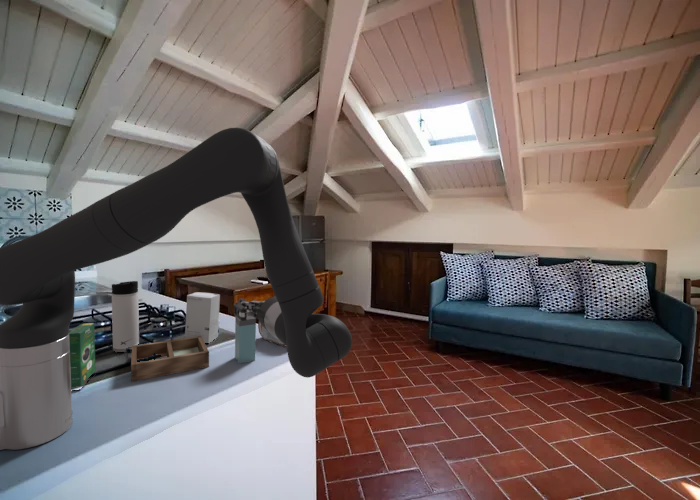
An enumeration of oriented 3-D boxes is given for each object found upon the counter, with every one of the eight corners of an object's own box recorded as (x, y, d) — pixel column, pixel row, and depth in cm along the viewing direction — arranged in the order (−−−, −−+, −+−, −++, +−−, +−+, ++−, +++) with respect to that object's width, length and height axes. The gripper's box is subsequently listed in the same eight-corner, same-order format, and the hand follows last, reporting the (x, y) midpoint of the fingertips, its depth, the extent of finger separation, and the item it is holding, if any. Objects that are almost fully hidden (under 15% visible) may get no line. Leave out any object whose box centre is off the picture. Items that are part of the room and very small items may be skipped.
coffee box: (82, 375, 78) (80, 322, 77) (96, 373, 79) (95, 321, 78) (65, 392, 71) (63, 334, 70) (81, 390, 72) (80, 333, 71)
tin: (297, 346, 102) (297, 320, 101) (290, 349, 99) (290, 322, 98) (263, 335, 110) (263, 311, 109) (256, 338, 107) (256, 313, 106)
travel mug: (126, 354, 91) (125, 283, 89) (107, 351, 92) (105, 281, 90) (145, 346, 97) (144, 279, 95) (126, 343, 98) (125, 278, 96)
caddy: (131, 381, 76) (131, 365, 76) (132, 360, 87) (132, 345, 87) (208, 366, 86) (209, 351, 85) (201, 349, 97) (201, 335, 96)
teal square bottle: (238, 363, 88) (239, 320, 87) (234, 357, 92) (235, 316, 91) (255, 360, 91) (255, 318, 90) (250, 354, 94) (251, 314, 93)
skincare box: (184, 342, 101) (184, 295, 100) (195, 335, 107) (195, 291, 106) (210, 344, 100) (210, 297, 99) (219, 337, 106) (220, 292, 105)
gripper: (314, 297, 70) (285, 283, 84) (248, 304, 63) (228, 288, 76) (313, 330, 71) (285, 311, 85) (247, 342, 63) (228, 319, 77)
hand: (258, 300), depth 80 cm, fingers open, 8 cm apart
